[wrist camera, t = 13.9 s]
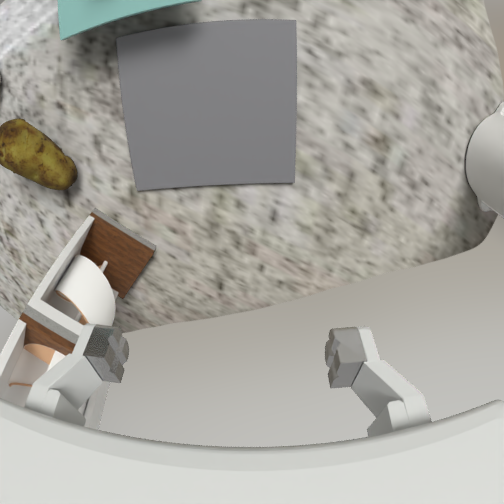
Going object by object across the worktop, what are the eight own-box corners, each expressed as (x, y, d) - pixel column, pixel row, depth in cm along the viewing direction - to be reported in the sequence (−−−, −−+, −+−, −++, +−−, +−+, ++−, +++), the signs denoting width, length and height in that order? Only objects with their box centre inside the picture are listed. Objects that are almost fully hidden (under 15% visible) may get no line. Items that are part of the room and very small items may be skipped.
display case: (126, 290, 47) (67, 498, 19) (73, 258, 43) (-18, 456, 15) (156, 246, 42) (84, 503, 14) (95, 208, 38) (-35, 444, 10)
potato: (51, 196, 37) (23, 224, 30) (13, 126, 30) (-22, 145, 23) (89, 172, 35) (61, 199, 29) (48, 94, 28) (11, 107, 22)
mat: (295, 20, 25) (296, 20, 25) (293, 180, 37) (294, 182, 37) (118, 38, 25) (116, 38, 25) (138, 188, 37) (137, 190, 37)
